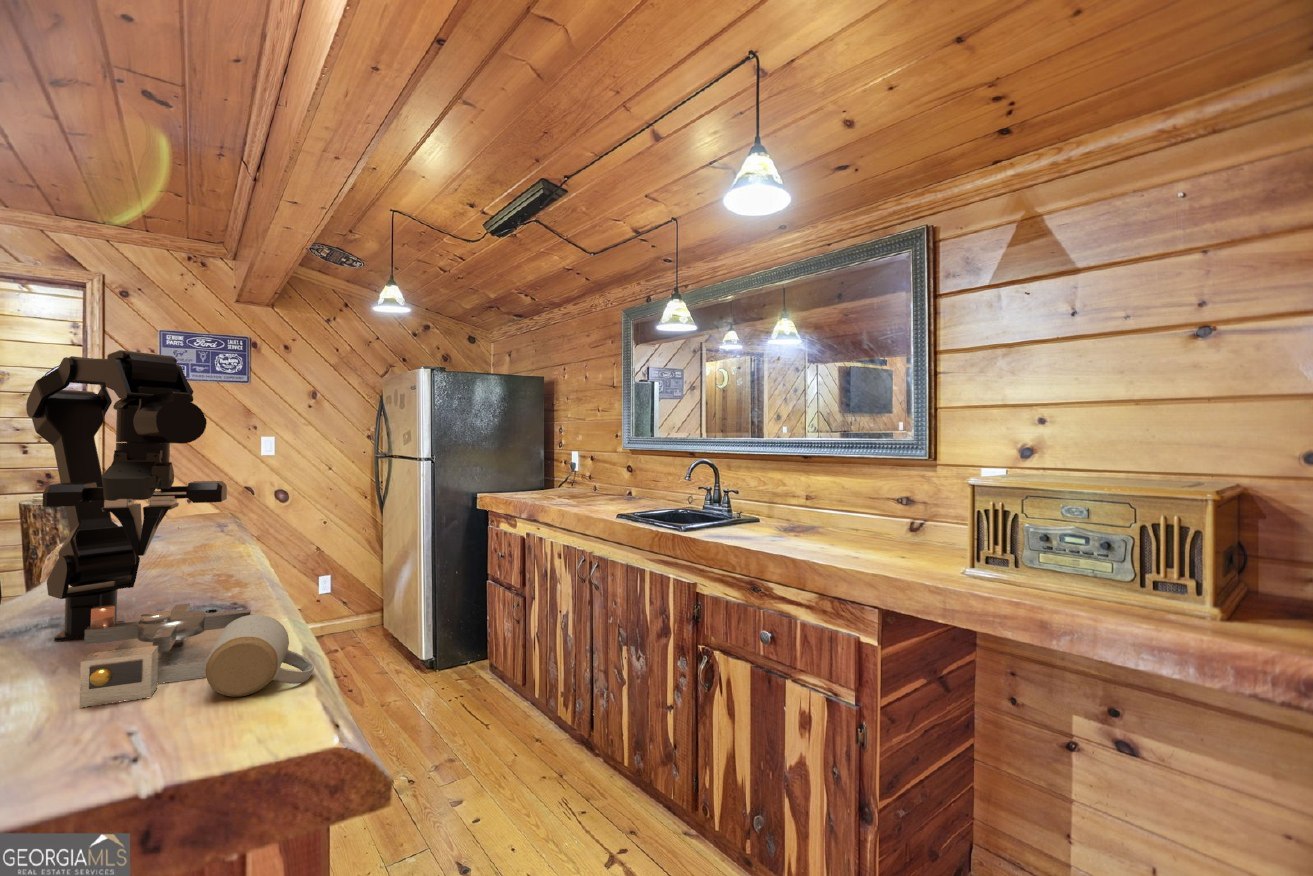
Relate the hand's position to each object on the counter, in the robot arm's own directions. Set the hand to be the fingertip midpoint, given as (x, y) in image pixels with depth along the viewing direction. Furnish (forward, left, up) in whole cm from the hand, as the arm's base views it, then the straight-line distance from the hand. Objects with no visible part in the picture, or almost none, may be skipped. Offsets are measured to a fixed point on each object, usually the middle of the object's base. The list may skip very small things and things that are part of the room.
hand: (140, 555), depth 83 cm
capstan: (+7, +5, -9) cm, 13 cm away
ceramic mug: (+21, +16, -13) cm, 30 cm away
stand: (+10, +5, -13) cm, 17 cm away
